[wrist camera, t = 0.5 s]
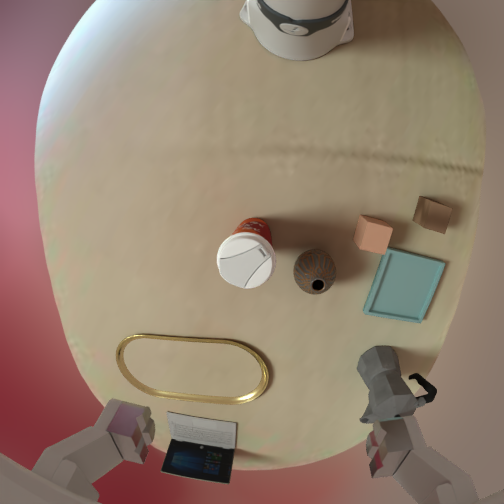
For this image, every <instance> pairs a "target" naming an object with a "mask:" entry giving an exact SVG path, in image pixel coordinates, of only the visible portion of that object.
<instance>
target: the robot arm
mask: <svg viewBox="0 0 504 504" xmlns="http://www.w3.org/2000/svg"><path fill="white" fill-rule="evenodd" d="M240 19H241V20H242V21H243V22H244V23H246V24H247V25H248V26H250V27H251V28H252V30H253V31H254V33H255V35H256V37H257V39H258V40H259V42H260V43H261V44H262V45H263V46H264V47H265V48H266V49H267V50H269V51H270V52H272V53H273V54H275V55H277V56H280V57H283V58H286V59H290V60H311V59H315V58H318V57H320V56H323V55H324V54H326V53H328V52H329V51H330V50H331V49H333V48H334V47H335V46H337V45H339V44H343V43H347V42H350V41H351V40H352V39H353V37H354V28H353V17H352V7H351V0H246V2H245V4H244V6H243V8H242V9H241V11H240ZM347 28H348V30H347ZM150 416H151V410H150V408H149V407H145V406H141V405H137V404H133V403H129V402H125V401H121V400H117V399H113V398H112V399H111V400H109V402H108V403H107V405H106V407H105V409H104V410H103V412H102V414H101V415H100V417H99V419H98V420H97V422H96V424H95V425H94V427H91V426H90V427H88V428H86V429H84V430H82V431H80V432H78V433H77V434H74V435H72V436H70V437H68V438H66V439H65V440H62V441H60V442H58V443H56V444H54V445H52V446H50V447H48V448H46V449H45V450H44V452H43V453H42V455H41V457H40V458H39V460H38V461H37V463H36V464H35V466H34V468H33V469H32V471H30V470H28V469H26V468H24V467H23V466H21V465H19V464H18V463H16V462H14V461H13V460H11V459H9V458H8V457H6V456H5V455H3V454H2V453H0V504H101V503H99V502H97V500H98V498H99V493H98V492H97V491H96V489H95V488H94V487H93V486H92V483H93V482H94V481H96V480H97V479H99V478H100V477H101V476H103V475H104V474H106V473H107V472H108V471H110V470H111V469H112V468H114V467H115V466H117V465H118V464H119V463H120V462H122V461H123V459H124V460H128V461H132V462H136V463H140V464H144V462H145V459H146V457H147V454H148V452H149V451H148V449H147V445H149V444H151V443H152V442H153V439H154V435H155V423H154V420H152V419H151V418H150ZM366 451H367V456H369V457H370V458H371V459H372V461H371V462H370V464H369V466H370V471H371V476H372V478H379V477H388V476H393V478H394V479H395V480H396V481H397V482H398V483H399V484H400V485H401V486H402V487H403V488H404V489H405V490H406V491H407V492H408V493H409V495H411V496H412V498H413V499H414V500H415V501H416V502H417V503H418V504H504V489H503V490H501V491H498V492H496V493H494V494H492V495H490V496H487V497H485V498H483V499H480V500H479V498H478V495H477V492H476V489H475V487H474V484H473V482H472V479H471V476H470V475H469V474H468V473H466V472H465V471H464V470H462V469H461V468H459V467H458V466H456V465H455V464H453V463H452V462H451V461H449V460H448V459H447V458H445V457H444V456H443V455H441V454H440V453H439V452H437V451H436V450H434V449H433V448H432V447H427V446H426V443H425V440H424V438H423V435H422V433H421V430H420V427H419V425H418V422H417V420H416V418H415V416H405V417H395V418H387V419H378V420H376V421H375V422H374V424H373V431H371V432H370V433H369V435H368V437H367V442H366Z"/></svg>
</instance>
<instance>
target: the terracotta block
mask: <svg viewBox="0 0 504 504" xmlns="http://www.w3.org/2000/svg"><path fill="white" fill-rule="evenodd" d="M392 231H393V228H392V227H391V226H389V225H388V224H387V223H386V222H384V221H382V220H378V219H375V218H371V217H367V216H363V215H360V216H359V220H358V223H357V227H356V231H355V234H354V238H353V241H354V242H355V243H356V245H357V246H358V247H359V249H362V250H366V251H370V252H374V253H379V254H383V255H385V253H386V250H387V247H388V244H389V240H390V237H391V234H392Z"/></svg>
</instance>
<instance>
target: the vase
mask: <svg viewBox="0 0 504 504" xmlns="http://www.w3.org/2000/svg"><path fill="white" fill-rule="evenodd" d="M335 277H336V268H335V264H334V262H333V260H332V259H331V257H330V256H329V255H328V254H326V253H325V252H323V251H320V250H308V251H306V252H304V253H302V254H301V255H300V256H299V257H298V259H297V260H296V262H295V265H294V278H295V281H296V283H297V285H298V286H299V287H300V288H301V289H302V290H303V291H305V292H307V293H309V294H321V293H324V292H326V291H327V290H328V289H329V288H330V287H331V286H332V285H333V283H334V281H335Z"/></svg>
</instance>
